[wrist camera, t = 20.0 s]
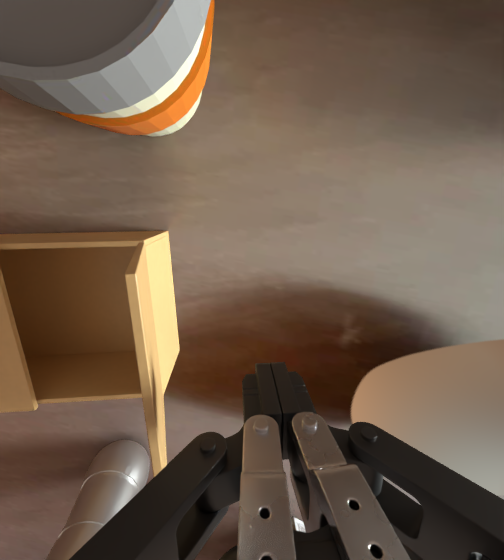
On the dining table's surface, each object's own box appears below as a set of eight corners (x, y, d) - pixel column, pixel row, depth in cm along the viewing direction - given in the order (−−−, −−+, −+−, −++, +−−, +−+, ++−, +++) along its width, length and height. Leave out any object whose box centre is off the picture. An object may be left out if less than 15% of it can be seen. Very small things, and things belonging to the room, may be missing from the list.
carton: (168, 230, 26) (140, 241, 18) (179, 350, 29) (160, 403, 21) (-42, 234, 25) (-171, 249, 17) (-5, 359, 28) (-97, 419, 20)
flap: (138, 242, 18) (144, 242, 18) (158, 402, 21) (163, 401, 22) (124, 274, 10) (135, 273, 10) (161, 528, 13) (169, 525, 13)
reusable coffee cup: (208, -29, 21) (156, -549, 6) (235, 147, 24) (241, 64, 10) (44, -7, 21) (-396, -505, 6) (96, 169, 24) (-109, 114, 10)
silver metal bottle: (92, 467, 33) (-108, 845, 13) (107, 424, 31) (-92, 777, 12) (144, 480, 34) (30, 845, 14) (162, 439, 32) (60, 783, 13)
